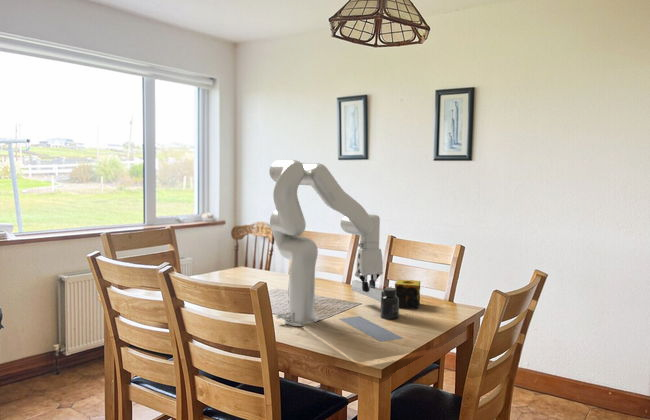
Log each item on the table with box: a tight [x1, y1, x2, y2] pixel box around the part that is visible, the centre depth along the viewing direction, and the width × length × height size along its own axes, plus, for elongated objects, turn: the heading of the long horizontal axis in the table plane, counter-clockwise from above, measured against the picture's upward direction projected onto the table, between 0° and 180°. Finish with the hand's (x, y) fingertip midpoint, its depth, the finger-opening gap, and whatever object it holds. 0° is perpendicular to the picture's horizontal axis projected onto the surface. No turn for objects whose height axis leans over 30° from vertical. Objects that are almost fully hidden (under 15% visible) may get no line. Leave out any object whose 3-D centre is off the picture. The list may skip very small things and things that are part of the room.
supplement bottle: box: [380, 287, 400, 321], centre depth 196 cm, size 7×7×12 cm
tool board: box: [339, 315, 404, 343], centre depth 183 cm, size 9×28×1 cm, turn 27°
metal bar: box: [351, 279, 384, 303], centre depth 209 cm, size 2×22×4 cm, turn 28°
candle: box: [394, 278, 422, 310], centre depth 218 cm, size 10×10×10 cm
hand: (368, 290), depth 209 cm, fingers closed on metal bar, 2 cm apart
